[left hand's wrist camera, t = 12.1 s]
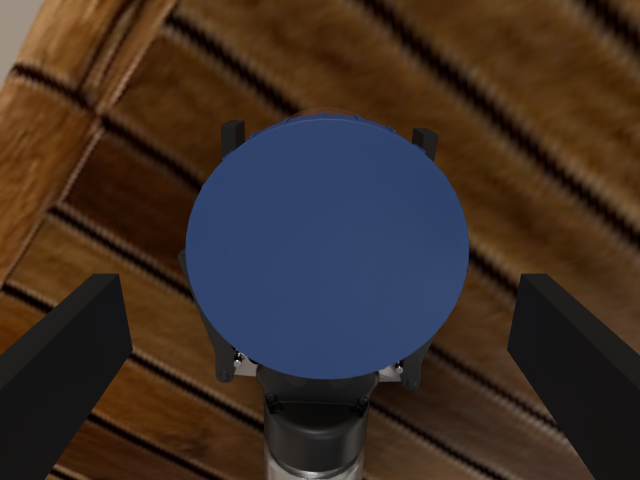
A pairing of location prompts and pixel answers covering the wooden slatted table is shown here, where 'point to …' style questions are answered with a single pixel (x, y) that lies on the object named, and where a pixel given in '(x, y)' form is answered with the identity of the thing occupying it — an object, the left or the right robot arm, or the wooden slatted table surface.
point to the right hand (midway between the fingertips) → (329, 126)
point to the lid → (327, 247)
